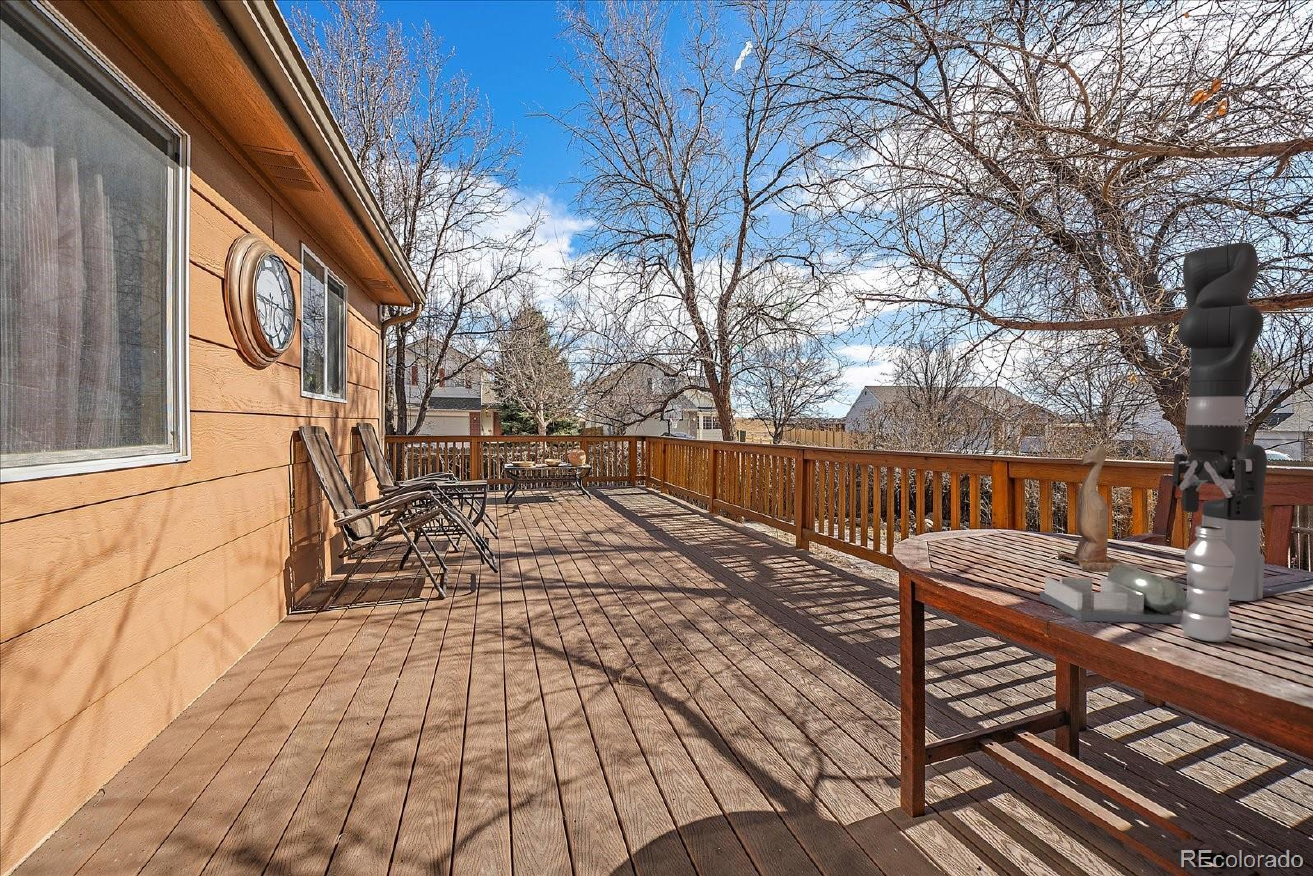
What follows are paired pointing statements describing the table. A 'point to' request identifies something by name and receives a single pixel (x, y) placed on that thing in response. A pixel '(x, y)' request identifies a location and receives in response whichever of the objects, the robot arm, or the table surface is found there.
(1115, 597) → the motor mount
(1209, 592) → the plastic bottle
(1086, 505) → the bird sculpture
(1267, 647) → the table surface
